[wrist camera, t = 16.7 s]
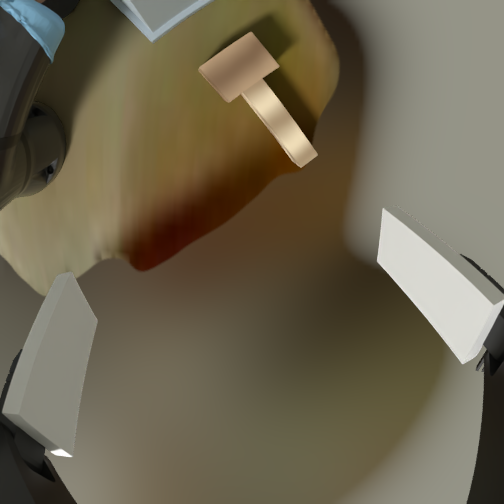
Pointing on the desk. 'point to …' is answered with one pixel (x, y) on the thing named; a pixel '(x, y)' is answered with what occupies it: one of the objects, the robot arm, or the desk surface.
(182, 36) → the desk surface
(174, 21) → the pedestal
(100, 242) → the desk surface
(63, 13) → the travel mug
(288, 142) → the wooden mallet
